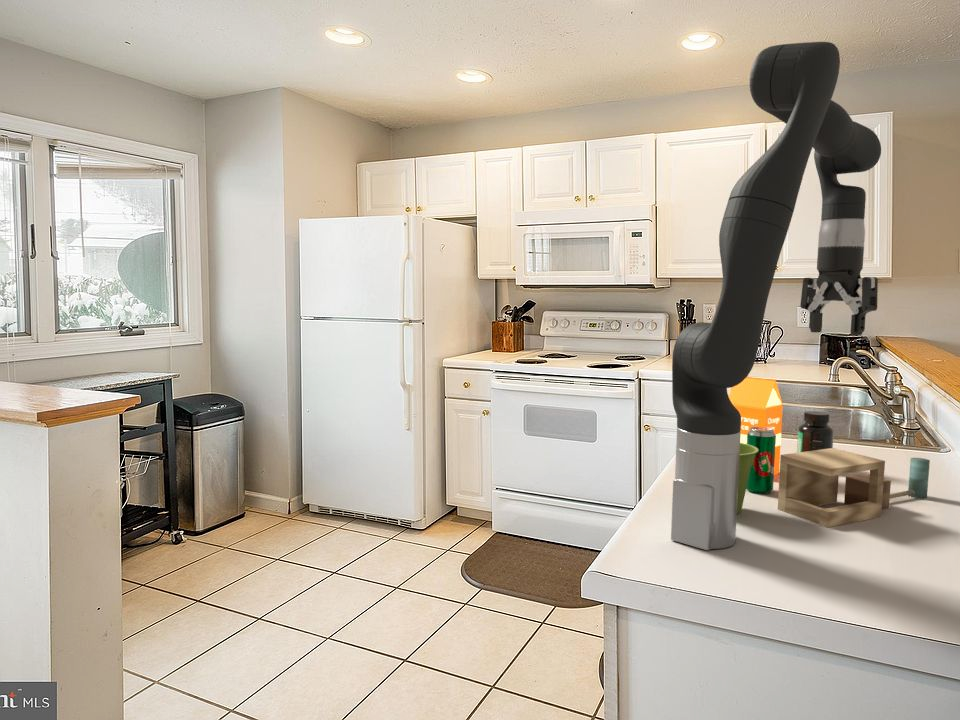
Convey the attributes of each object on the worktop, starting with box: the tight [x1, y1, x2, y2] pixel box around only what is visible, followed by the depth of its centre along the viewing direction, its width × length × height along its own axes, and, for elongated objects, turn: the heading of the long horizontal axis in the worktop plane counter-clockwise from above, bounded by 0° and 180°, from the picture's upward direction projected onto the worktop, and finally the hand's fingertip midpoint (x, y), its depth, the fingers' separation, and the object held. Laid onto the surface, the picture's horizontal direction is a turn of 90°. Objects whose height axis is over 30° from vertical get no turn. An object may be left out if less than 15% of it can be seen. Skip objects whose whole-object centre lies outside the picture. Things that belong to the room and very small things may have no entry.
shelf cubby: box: [777, 447, 886, 528], centre depth 118 cm, size 13×10×10 cm
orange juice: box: [728, 376, 784, 476], centre depth 144 cm, size 8×9×20 cm
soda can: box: [746, 427, 776, 495], centre depth 131 cm, size 5×5×12 cm
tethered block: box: [843, 457, 930, 511], centre depth 125 cm, size 18×5×7 cm, turn 114°
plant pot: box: [737, 443, 759, 514], centre depth 120 cm, size 12×12×11 cm
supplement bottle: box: [796, 410, 835, 453], centre depth 148 cm, size 7×7×12 cm
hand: (835, 333), depth 128 cm, fingers open, 8 cm apart
